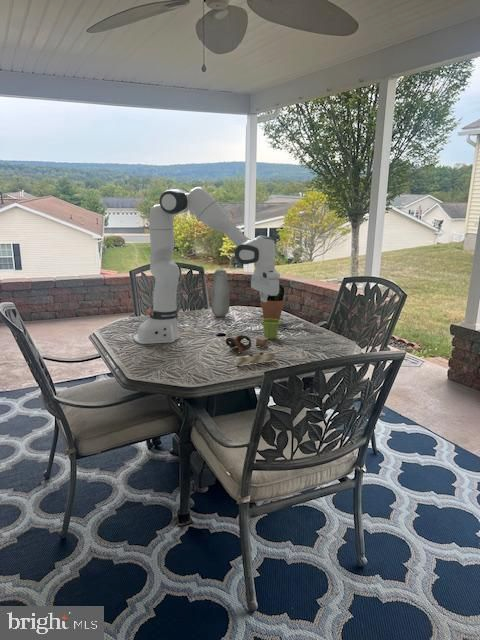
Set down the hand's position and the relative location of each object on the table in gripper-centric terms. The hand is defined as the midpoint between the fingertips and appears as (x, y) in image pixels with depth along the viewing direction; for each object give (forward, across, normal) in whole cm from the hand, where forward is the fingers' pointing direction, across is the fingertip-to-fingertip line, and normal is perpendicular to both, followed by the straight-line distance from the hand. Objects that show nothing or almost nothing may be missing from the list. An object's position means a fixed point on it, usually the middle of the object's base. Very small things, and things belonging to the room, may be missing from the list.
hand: (263, 301), depth 210 cm
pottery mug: (+22, +1, -13) cm, 26 cm away
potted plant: (+22, -39, +28) cm, 53 cm away
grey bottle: (+22, -58, +4) cm, 62 cm away
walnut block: (+22, 0, 0) cm, 22 cm away
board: (+22, +20, -14) cm, 33 cm away
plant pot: (+22, -11, +11) cm, 27 cm away
